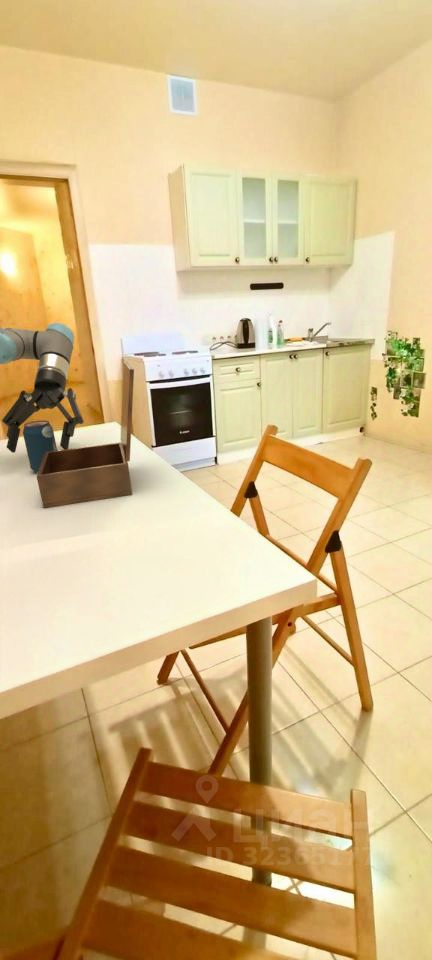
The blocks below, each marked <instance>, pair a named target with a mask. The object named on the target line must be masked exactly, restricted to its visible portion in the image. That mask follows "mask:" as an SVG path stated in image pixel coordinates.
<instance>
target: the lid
mask: <svg viewBox="0 0 432 960" xmlns="http://www.w3.org/2000/svg"><path fill="white" fill-rule="evenodd" d="M122 365H123V366H122V367H123V370H122V391H121V392H122V393H121V417H120V418H121V420H120V442H121V444H122V448H123V452H124V456H125V460H126V461H127V462H131V444H132V443H131V442H132V422H133V400H134V382H135V381H134V380H135V379H134V378H135V369H134V368H133V367H132V365H131V364H130V363H129V362H128V361H123V364H122Z"/></svg>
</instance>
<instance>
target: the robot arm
mask: <svg viewBox="0 0 432 960" xmlns="http://www.w3.org/2000/svg"><path fill="white" fill-rule="evenodd" d="M74 342H75V334H74V332H73V330H72V329H71V328H70V327H69V326H68V325H66V324H64V323H60V322H54V323H50V324H48V325H47V326H46V328H45V330H29V329H20V328H13V327H2V326H0V365H7V364H10V363H11V362H15V361H19V360H37V361H38V363H37V369H36V373H35V379H34V383H33V390H32V391H31V392H26V391H25V390H21V391H20V393H19V396H18V398H17V399H16V401H15V402H14V403H13V405H12V406H11V408H10V409H9V410H8V411H7V412H6V414H5V416H3V418H2V419H1V422H2V423H3V424H4V425H5V426H6V427H7V433H6V437H7V438H8V439H7V443H6V449H8V450H9V451H10V452H11V453H16V450H17V448H18V447H17V446H18V442H19V438H20V433H21V428H19V427H21V426H22V424H24V423H25V422H26V421H27V420H28V419H29V418H30V417H32V416H33V415H34V414H35V413H37V412H39V411H40V410H47V409H49V410H53V409H55V408H56V407H57V409H58V410H59V412H60V413H61V414H62V415H63V416H64V418H65V420H67V421H63V426H62V431H61V438H60V442H59V443H60V444H59V446H60V447H61V449H62V450H65V449H69V445H70V440H71V438H73V437H74V435H75V430H76V429H75V428H76V426H77V425H82V424H84V419H83V416H82V413H81V411H80V409H79V406H78V403H77V394H76V392H75V391H74V390H73V388H71V387H69V388H68V389H67V390H66V387H67V379H68V376H69V371H70V364H71V359H72V355H73V351H74ZM65 398H66V400H68V402H69V405H70V407H71V411H72V413H73V416H74V417H72V415H71V414H70V413H69V412H68V411H67V409H66V408H65V407H64V406H63V404H62V403H61V402H62V401H63V400H64V399H65Z"/></svg>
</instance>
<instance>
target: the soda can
mask: <svg viewBox="0 0 432 960" xmlns="http://www.w3.org/2000/svg"><path fill="white" fill-rule="evenodd" d="M22 436H23V440H24V443H25V449H26V454H27V459H28V463H29V467H30V469H31V470H32V471H33V473H34V474H36V475H37V474H38V471H39V468H40V465H41V462H42V459H43V457H44V454H45V452H49V451H57V450H58V447H57V442H56V438H55V437H56V436H55V431H54V427H53V426H52V425H51V424H50V421H49V420H34V421H30V422H29V421H28V422H26V423H23V431H22Z"/></svg>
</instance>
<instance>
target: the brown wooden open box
mask: <svg viewBox="0 0 432 960" xmlns="http://www.w3.org/2000/svg"><path fill="white" fill-rule="evenodd" d="M36 481H37V485H38V489H39V494H40V499H41V503H42V508H43V509H47V508H53V507H60V506H61V507H62V506H67V505H74V504H79V503H85V502H92V501H99V500H106V499H113V498H119V497H125V496H132V495H133V489H132V482H131V475H130V468H129V461H126V460H125V456H124V452H123V448H122V444H121V441H120V442H113V443H104V444H97V445H90V446H82V447H81V446H80V447H74V448H73V447H72V448H68V449H65V450H64V449H57V451H49V452H45V454H44V457H43V459H42V462H41V465H40V468H39V471H38V474H37V473H36Z"/></svg>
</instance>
